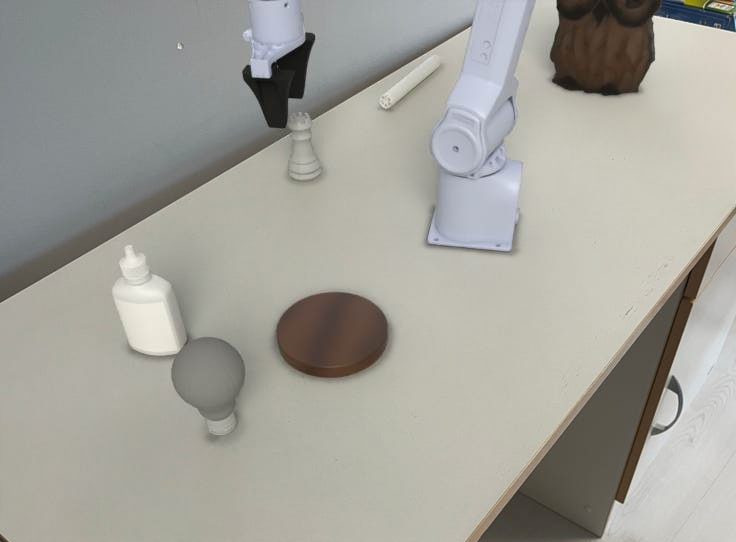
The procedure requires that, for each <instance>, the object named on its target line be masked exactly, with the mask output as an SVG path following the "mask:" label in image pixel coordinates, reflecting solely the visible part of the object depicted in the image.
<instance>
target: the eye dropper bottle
mask: <svg viewBox="0 0 736 542" xmlns="http://www.w3.org/2000/svg"><path fill="white" fill-rule="evenodd" d="M118 264H119V267H120V270H121V274H122V276H120V277H119V278H118V279H117V280H115V282H114V284H113V286H112V288H111V295H112V298H113V302H114V305H115V308H116V311H117V313H118V317H119V319H120V323H121V325H122V329H123V331H124V334H125V337H126V339H127V341H128V344H129V346H130V347H131V349H132V350H134V351H136V352H138V353H141V354H144V355H148V356H155V357H162V356H163V357H164V356H172V355H177V354H178V352H179V351H180V350H181V348H183V347H184V346H185V345H186V344H187V341H188V336H187V332H186V329H185V324H184V322H183V318H182V314H181V310H180V307H179V303H178V300H177V296H176V294H175V290H174V287H173V285H172V284H171V283H170V281H168V280H166V278H163V277H161V276H159V275H157V274H155V273H152V271H151V268H150V265H149V262H148V259H147V256H146V254H144V253H142V252H139V251H136V250H135V248H134V247H133V245H131V244H127V245H125V246H124V255H123V256H122V257H121V258H120V260H119V262H118Z"/></svg>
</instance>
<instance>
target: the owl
mask: <svg viewBox="0 0 736 542" xmlns="http://www.w3.org/2000/svg"><path fill="white" fill-rule="evenodd" d="M555 1H556V7H555V9H556V10H557V15H558V25H557V29H556V31H555V34H554V39H553V42H552V45H551V48H550V51H549V59H550V61H551V62H552V63H553V66H554V71H555V73H554V77H552V79H551V82H552V83H554V84H556V85H557V86H559V87H561V88H563V89H564V90H567V91H570V92H571V91H575V92H576V91H579V92H580V91H582V92H583V93H585V94H597V95H598V94H600V95H602V96H604V97H607V96H620V95H623V94H630V93H631V94H632V93H639V91H640V90H639V88H640V85H641V84H642V82H643V80H644V78H645V77H646V75H647V73H648V72H649V70H650V68H651V65H652V64H653V63H654V62H655V60H656V46H655V32H654V20H653V18H654V16H655V15H656V14H657V13H658V12H659V10H660V9H661V8H662V1H663V0H555Z"/></svg>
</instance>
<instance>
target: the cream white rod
mask: <svg viewBox="0 0 736 542" xmlns="http://www.w3.org/2000/svg"><path fill="white" fill-rule="evenodd" d="M441 63H442V57H441V55H438V54H433V55H431V56H429V57H428V58H426V60H424V61H423V62H422V63H421V64H419V65H418V66H417V67H415V68H414V69H413V70H412V71H411V72H409V73H408V74H406V75H405V76H404V77H403V78H402V79H401V80H399V81H398V82H397V83H396V84H394V85H393V86H392V87H390V88H389V89H388V90H386V92H384V93H383V94H382V95H381V96H380V97H379V105H380V107H382V108H383V109H385V110H386V109H387V110H388V109H390V108H391V107H393V106H394V105H395V104H396V103H398V102H399V101H400V100H401V99H403V98H404V97H405V96H406V95H407V94H408V93H410V92H411V91H412V90H413V89H415V88H416V87H417V86H418V85H419V84H420V83H421V82H423V81H424V80H425V79H426V78H427V77H429V76H430V75H431V74H432V73H434V71H436V70H437V69H438V68H439V67H440V65H441Z"/></svg>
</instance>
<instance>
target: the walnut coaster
mask: <svg viewBox="0 0 736 542" xmlns="http://www.w3.org/2000/svg"><path fill="white" fill-rule="evenodd" d="M388 325H389V324H388V320H387V318H386V315H385V314H384V312H383V310H382V309H381V308H380V307H379V306H378V305H377V304H376V303H374V302H373V301H371V300H370V299H368V298H366V297H364V296H361V295H358V294H355V293H350V292H344V291H328V292H320V293H316V294H311V295H309V296H306V297H304V298H302V299H300V300H298V301H296V302H294V303H293V304H292V305H291V306H289V307H287V309H286V310H284V312H283V313H282V314H281V316H280V317H279V320H278V322H277V325H276V333H275V334H276V340H277V341H276V342H277V346H278V351H279V354H280V356H282V358H283V360H284V361H285V362H286V363H287V364H288V365H289V366H291V367H292V368H293V369H295V370H296V371H299V372H300V373H303V374H305V375H309V376H312V377H317V378H323V379H324V378H325V379H328V378H329V379H331V378H333V379H334V378H335V379H337V378H344V377H349V376H351V375H355V374H358V373H361V372H362V371H364V370H366V369H368V368H369V367H371V366H372V365H374V364H375V363H376V362H377V361H378V360H379V359H380V358H381V356H382V355H383V353H384V352H385V350H386V348H387V345H388V341H389V340H388V339H389V338H388Z"/></svg>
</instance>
